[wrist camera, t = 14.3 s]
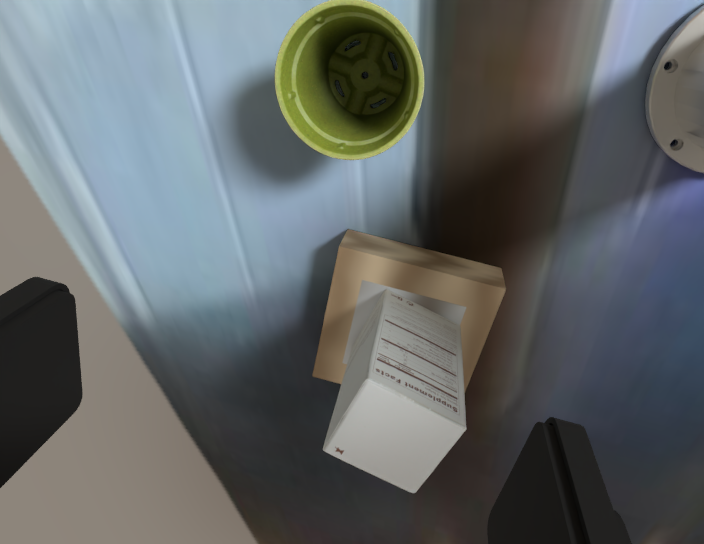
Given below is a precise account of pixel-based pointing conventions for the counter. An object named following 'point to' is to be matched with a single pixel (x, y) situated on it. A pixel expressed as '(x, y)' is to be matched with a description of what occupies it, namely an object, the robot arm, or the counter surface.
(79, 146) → the counter surface
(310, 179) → the counter surface
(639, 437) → the counter surface
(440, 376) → the supplement box
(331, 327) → the oak plinth
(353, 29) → the plant pot
